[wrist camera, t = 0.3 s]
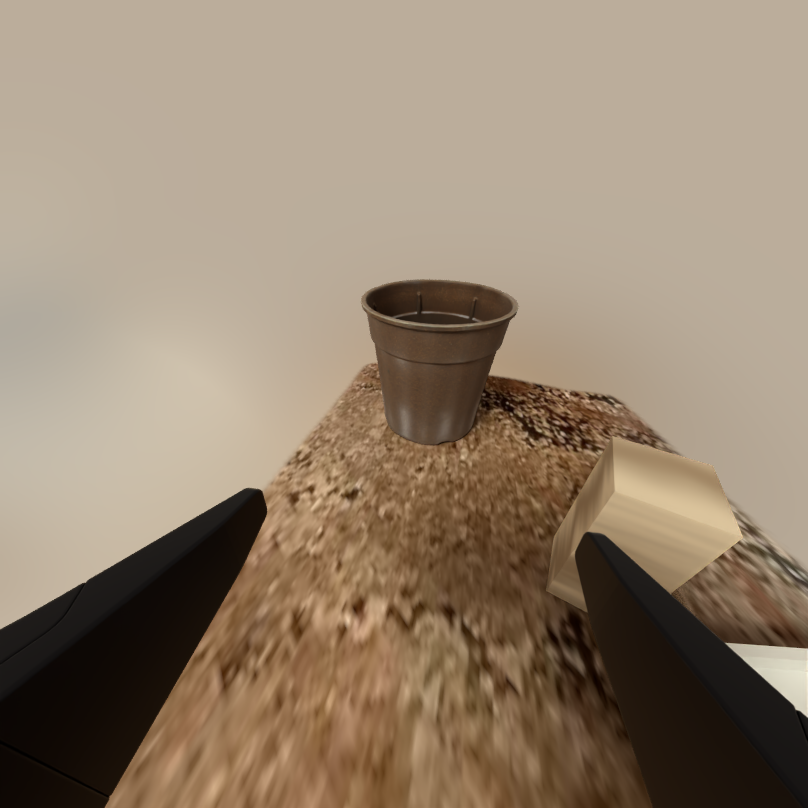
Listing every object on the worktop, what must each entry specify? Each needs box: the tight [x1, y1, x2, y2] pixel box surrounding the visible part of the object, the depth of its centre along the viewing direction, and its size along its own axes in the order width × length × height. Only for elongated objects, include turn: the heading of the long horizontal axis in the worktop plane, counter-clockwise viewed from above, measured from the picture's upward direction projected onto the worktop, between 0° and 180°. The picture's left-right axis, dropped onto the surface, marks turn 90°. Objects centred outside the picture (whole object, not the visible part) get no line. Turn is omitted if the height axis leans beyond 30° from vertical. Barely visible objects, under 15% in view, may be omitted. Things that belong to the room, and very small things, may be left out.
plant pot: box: [361, 280, 518, 445], centre depth 35 cm, size 16×16×16 cm
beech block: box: [546, 436, 743, 613], centre depth 19 cm, size 5×5×12 cm
